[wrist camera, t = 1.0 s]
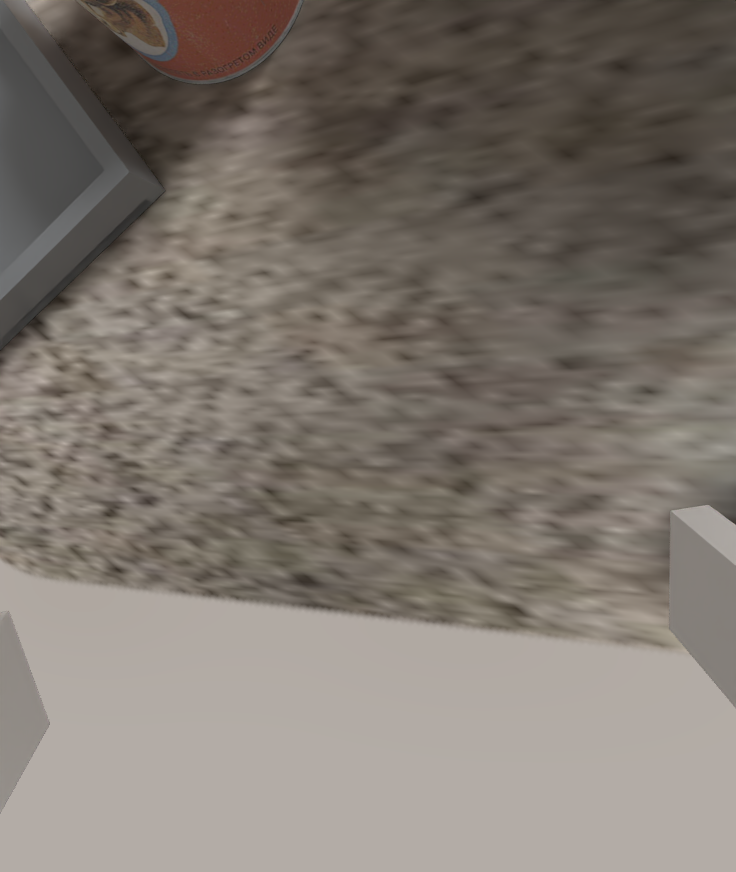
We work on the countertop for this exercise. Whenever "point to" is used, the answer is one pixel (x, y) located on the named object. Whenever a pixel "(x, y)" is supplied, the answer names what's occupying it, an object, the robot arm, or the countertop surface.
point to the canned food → (199, 33)
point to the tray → (55, 171)
